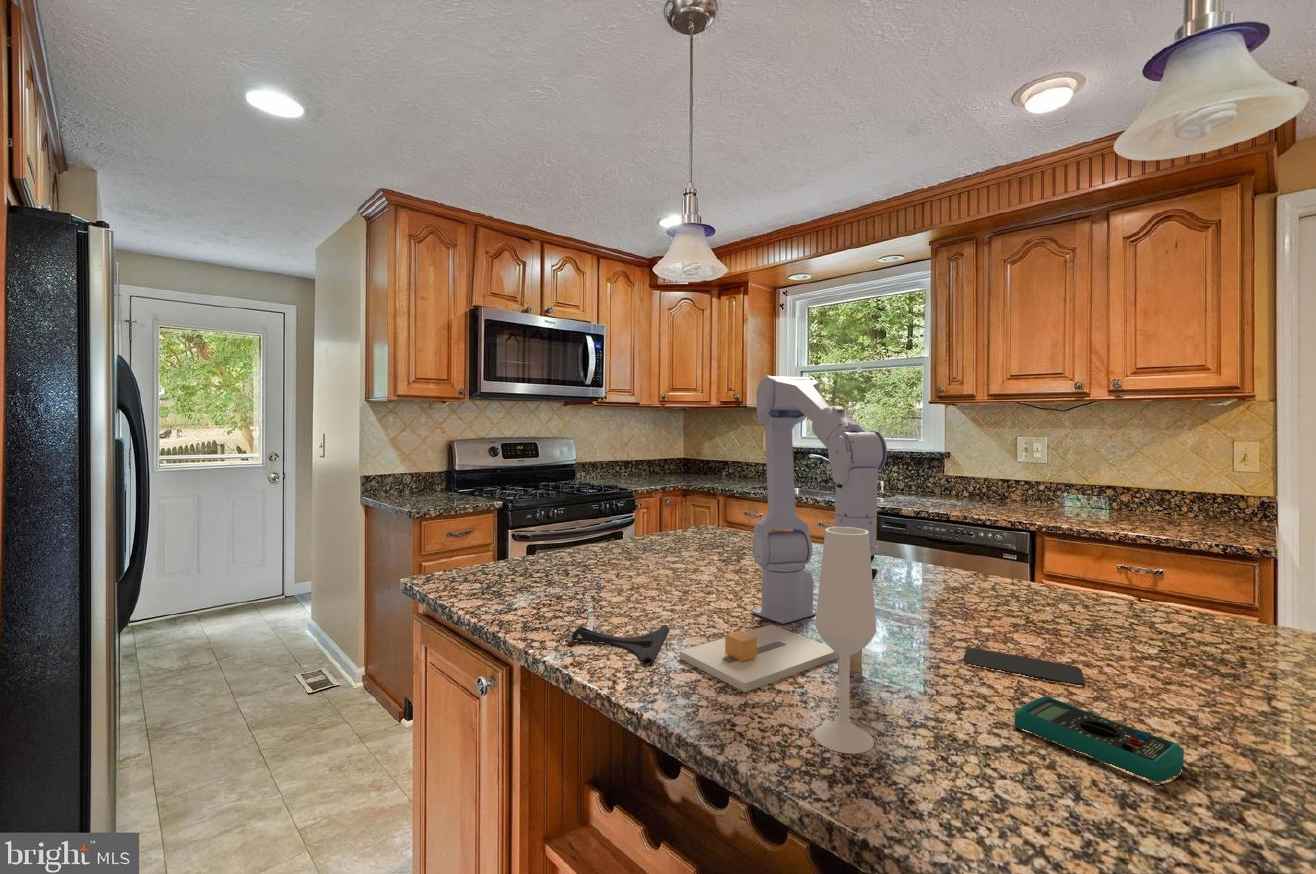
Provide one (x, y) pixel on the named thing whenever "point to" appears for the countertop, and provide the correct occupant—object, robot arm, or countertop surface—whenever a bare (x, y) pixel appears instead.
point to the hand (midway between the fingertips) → (854, 607)
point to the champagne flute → (845, 624)
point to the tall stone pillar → (855, 663)
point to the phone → (1024, 666)
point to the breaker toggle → (741, 645)
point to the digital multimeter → (1101, 738)
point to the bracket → (629, 641)
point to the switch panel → (760, 658)
